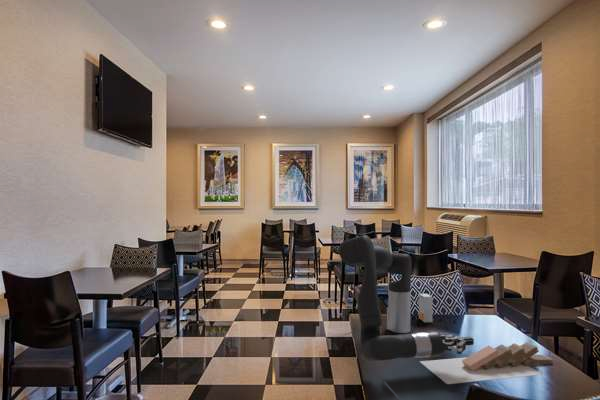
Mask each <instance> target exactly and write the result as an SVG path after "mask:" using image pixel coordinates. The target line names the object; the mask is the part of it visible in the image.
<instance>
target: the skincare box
mask: <svg viewBox="0 0 600 400" xmlns="http://www.w3.org/2000/svg"><path fill="white" fill-rule="evenodd" d="M418 307H419V308H418V319H420V320H421V321H422V322H423V323H434V322H433V321H434V320H433V296H432V295H431V294H428V293H418Z"/></svg>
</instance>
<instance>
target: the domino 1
mask: <svg viewBox="0 0 600 400" xmlns="http://www.w3.org/2000/svg"><path fill="white" fill-rule="evenodd" d="M508 347H509V346H506V345H504V344H500V345H498V346H496V347H493V348H494V349H496V350H497V351H498V353H499V356H498V357H496V358H494V359H492V360H491V361H489V362H487V363H486V364H484V365H482V366H480V367H482V368H484V369H485V370H487V369H489V368H490V367H492V366H494V365H495V364H497V363H499V362H500V361H502V360H504V359H505V358H507V357H509V356H510V355H512V351H511V349H510V348H508Z"/></svg>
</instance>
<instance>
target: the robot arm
mask: <svg viewBox="0 0 600 400" xmlns="http://www.w3.org/2000/svg"><path fill="white" fill-rule="evenodd" d="M338 254H339V257H340V259H341V260H342V262H343V263H344V264H346V265H347V266H349V267H351V266H352V267H353V266H355V267H356V266H357V267H363V268H364V274H363V275H364V276H363V280H362V284H361V286H360V289H359V292H358V295H357V299H356V300H357V301H356V302H357V304H356V305H357V310H358V317H359V322H360V346H361V350H362V353H363V355H364V357H365V358H366V359H368V360H369V361H381V362H382V361H389V360H394V359H413V358H417V359H418V358H422V359H423V358H433V357H435V358H436V357H441V356H442V355H443V353H445V352H452V351H456V354H458V355H462V354H463V352H464V351H466V349H467V346H473V345H474V343H475V342H474V341H475V340H474V338H473V337H471V336H463V337H462V336H456V335H455V334H451V333H445V332H438V331H435V330H434V331H433V330H432V331H418V332H416V331H415V332H412V333H410V332H411V326H412V325H411V319H412V318H411V285H412V257H411V256H410V254H408V253H397V252H391V251H389V249H387V248H385V247H383V246H379V245H374V243H373V241H372V239H371V238H370V237H369V236H368V235H366V234H363V235H359V236H356V237H352V238H348V239H345V240H343V241H341V243H340V245H339V248H338ZM377 271H380V272H381V271H385V272H386V273H388V274H390V275H391V274H392V275H396V276H397V275H399V276H400V279H398V280H395V281H394V280H393V281H391V282H389V283H388V306H387V307H386V330H388V331H391V332H393V333H397V334H395V335H381V327H382V325H383V318H382V312H381V307H380V302H379V296H378V295H379V293H378V282H377V281H378V280H377V277H378V276H377Z"/></svg>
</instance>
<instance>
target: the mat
mask: <svg viewBox="0 0 600 400" xmlns="http://www.w3.org/2000/svg"><path fill="white" fill-rule="evenodd" d="M468 357H469V356H466V357H457V358H456V357H455V358H445V359H433V360H420V361H419V363H421V364H422V365H423V366H424V367H426V368H427V369H428V370H429V371H430V372H431V373H433V374H434V375H435V376H437V377H438V378H439V379H440V380H442V382H444V383H445V384H446V385H453V384H454V385H455V384H463V383H472V382H482V381H484V382H485V381H491V380H501V379H512V378H520V377H530V376H531V377H532V376H540V375H543V373H542V372H540V371H538V370H536V369H535V368H533V367H532V366H524V365H522V364H520V363H519V364H518V365H516V366H514V367H512V366H510V365H508V364H507V365H505V366H503V367H502V368H500V369H499V368H497V367H496V366H492V367H490V368H489V369H487V370H485V369H484V368H482V367H479V368H477V369H475V370H474V371H471V370H469V369H468V368H466V367H465V366H464V364H463V362H462V360H464V359H466V358H468Z"/></svg>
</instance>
